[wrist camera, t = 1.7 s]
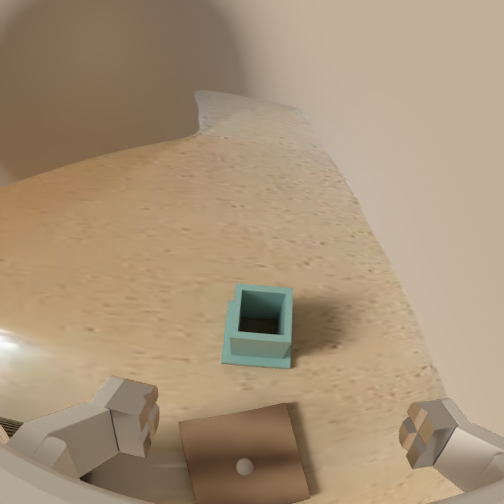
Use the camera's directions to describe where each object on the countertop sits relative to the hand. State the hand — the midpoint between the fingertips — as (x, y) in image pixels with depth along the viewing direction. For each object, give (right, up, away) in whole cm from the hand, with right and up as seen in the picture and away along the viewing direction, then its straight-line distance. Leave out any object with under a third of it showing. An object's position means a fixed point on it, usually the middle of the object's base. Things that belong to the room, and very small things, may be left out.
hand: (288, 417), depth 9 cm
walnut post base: (-2, -18, +21) cm, 28 cm away
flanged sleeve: (0, -5, +30) cm, 30 cm away
